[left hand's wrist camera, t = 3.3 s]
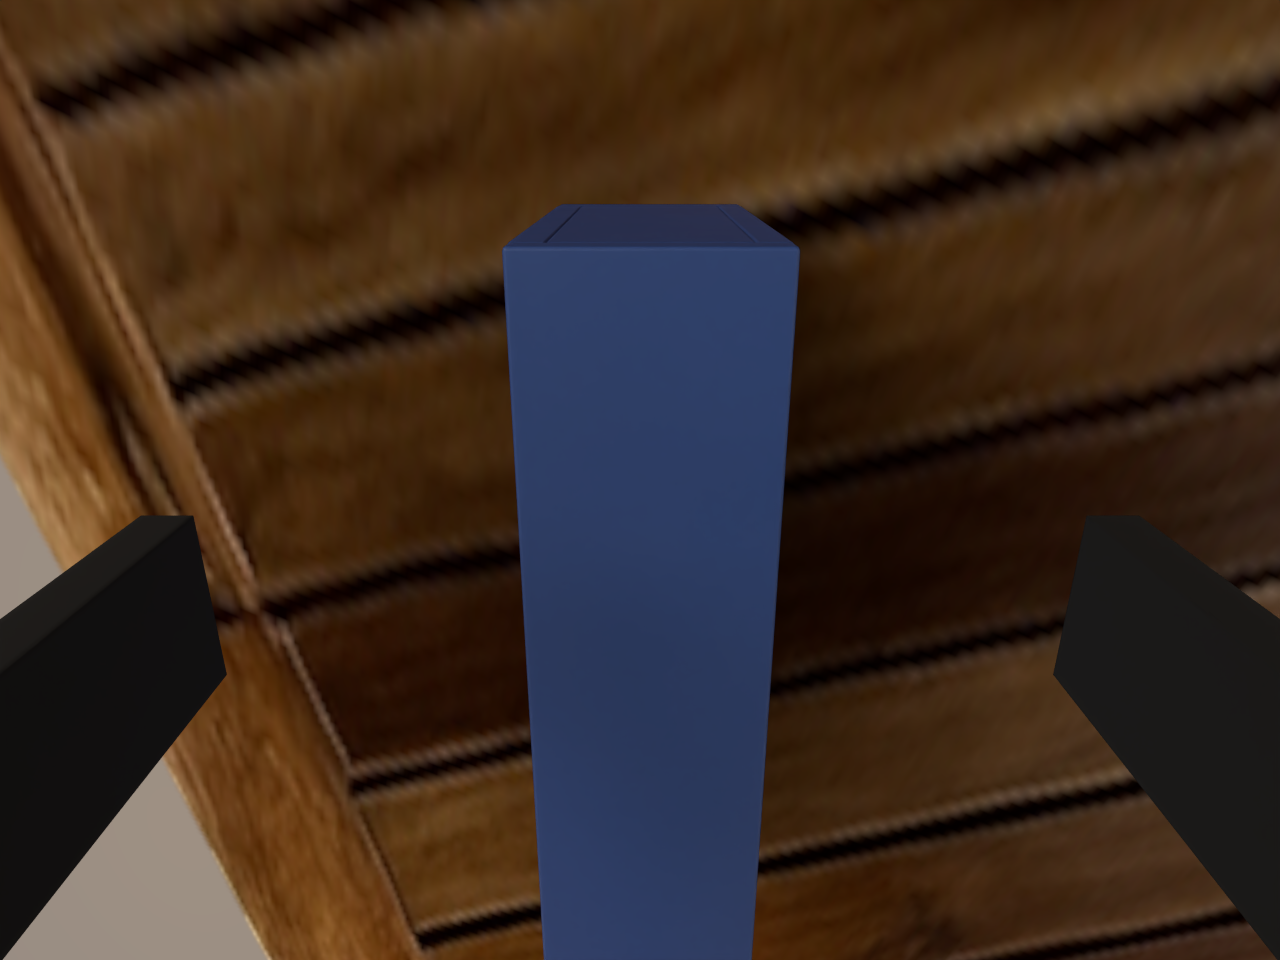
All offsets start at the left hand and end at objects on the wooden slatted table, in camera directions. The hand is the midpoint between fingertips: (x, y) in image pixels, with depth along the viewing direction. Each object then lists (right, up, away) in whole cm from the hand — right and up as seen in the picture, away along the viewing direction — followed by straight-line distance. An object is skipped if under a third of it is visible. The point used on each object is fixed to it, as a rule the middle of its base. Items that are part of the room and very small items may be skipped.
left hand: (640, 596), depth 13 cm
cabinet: (0, +1, +16) cm, 16 cm away
